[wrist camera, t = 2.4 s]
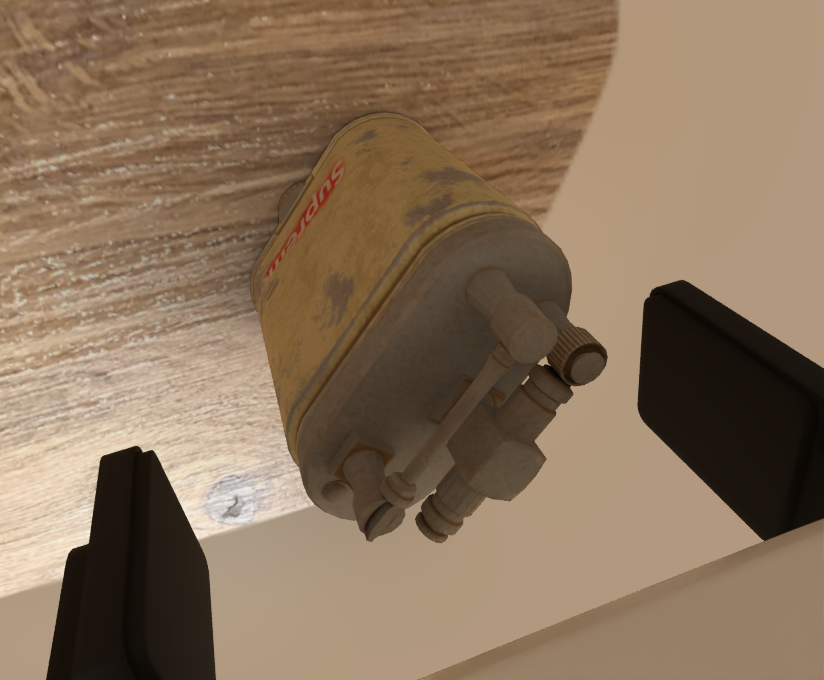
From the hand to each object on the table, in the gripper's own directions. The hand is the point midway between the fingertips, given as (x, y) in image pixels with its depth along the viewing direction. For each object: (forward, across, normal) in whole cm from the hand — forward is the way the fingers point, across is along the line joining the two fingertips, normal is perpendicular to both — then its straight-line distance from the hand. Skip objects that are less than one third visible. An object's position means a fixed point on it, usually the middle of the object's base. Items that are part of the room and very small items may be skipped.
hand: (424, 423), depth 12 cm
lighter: (+8, 0, -1) cm, 9 cm away
